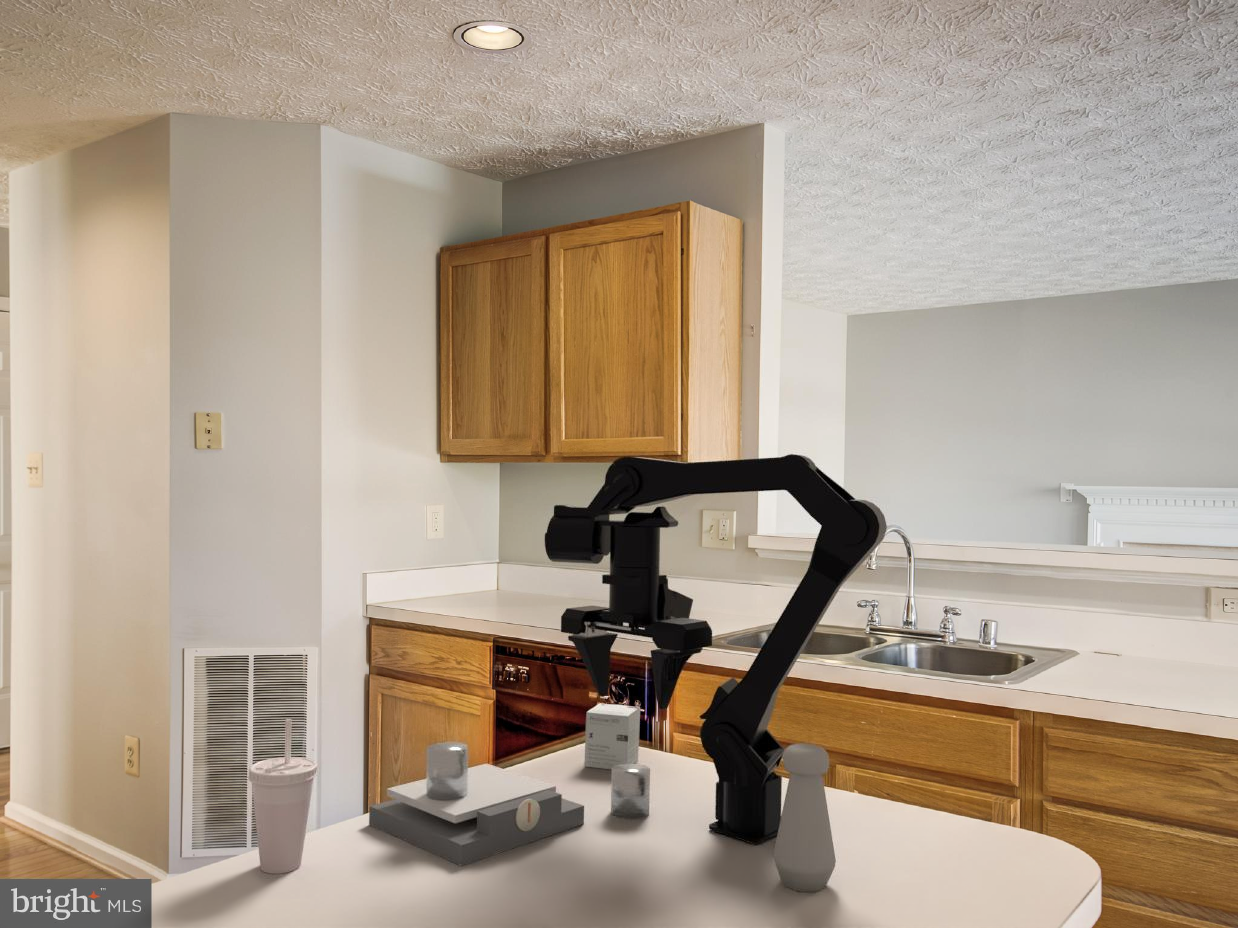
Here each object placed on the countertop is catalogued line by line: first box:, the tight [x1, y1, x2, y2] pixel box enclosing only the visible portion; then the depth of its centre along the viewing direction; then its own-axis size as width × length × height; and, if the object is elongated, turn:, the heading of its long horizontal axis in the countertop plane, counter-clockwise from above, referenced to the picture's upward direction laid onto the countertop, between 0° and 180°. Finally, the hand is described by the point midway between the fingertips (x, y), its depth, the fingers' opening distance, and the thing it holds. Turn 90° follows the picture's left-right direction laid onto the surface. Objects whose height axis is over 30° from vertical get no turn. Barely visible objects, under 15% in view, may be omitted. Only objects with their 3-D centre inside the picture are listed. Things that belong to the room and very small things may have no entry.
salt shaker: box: [773, 742, 837, 893], centre depth 95 cm, size 6×6×13 cm
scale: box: [368, 763, 585, 867], centre depth 109 cm, size 16×17×5 cm
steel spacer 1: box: [426, 741, 469, 801], centre depth 107 cm, size 4×4×5 cm
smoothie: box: [247, 718, 318, 875], centre depth 96 cm, size 6×6×14 cm
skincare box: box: [583, 702, 641, 770], centre depth 133 cm, size 6×6×7 cm
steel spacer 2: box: [610, 763, 651, 821], centre depth 114 cm, size 4×4×5 cm
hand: (632, 702), depth 114 cm, fingers open, 9 cm apart
